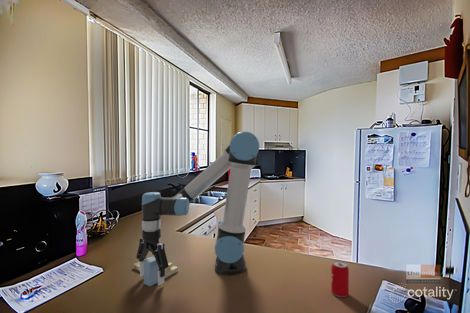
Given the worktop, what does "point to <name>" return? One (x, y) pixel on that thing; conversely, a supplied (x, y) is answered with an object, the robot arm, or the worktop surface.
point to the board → (167, 272)
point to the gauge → (152, 271)
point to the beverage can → (340, 279)
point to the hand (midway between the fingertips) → (151, 279)
